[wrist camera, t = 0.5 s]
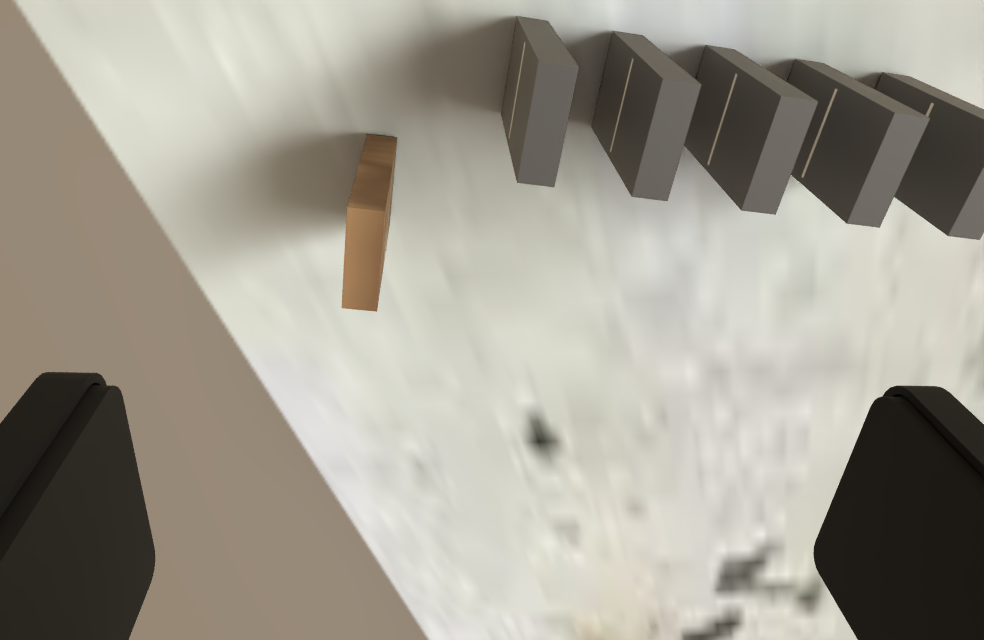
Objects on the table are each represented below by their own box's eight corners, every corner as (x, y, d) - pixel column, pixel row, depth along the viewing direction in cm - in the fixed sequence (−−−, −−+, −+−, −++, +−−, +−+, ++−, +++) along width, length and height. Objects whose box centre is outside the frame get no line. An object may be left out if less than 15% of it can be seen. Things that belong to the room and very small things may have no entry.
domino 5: (763, 150, 41) (846, 223, 33) (795, 58, 39) (894, 112, 30) (790, 153, 42) (880, 227, 33) (824, 63, 39) (930, 118, 31)
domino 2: (500, 114, 39) (516, 182, 31) (516, 16, 37) (538, 60, 28) (530, 118, 40) (554, 187, 31) (548, 21, 37) (579, 66, 29)
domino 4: (678, 138, 41) (740, 210, 32) (705, 45, 38) (780, 96, 30) (706, 142, 41) (775, 214, 32) (735, 49, 38) (818, 101, 30)
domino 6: (845, 161, 42) (947, 235, 34) (882, 72, 39) (1003, 128, 31) (871, 165, 42) (980, 239, 34) (910, 76, 40) (1037, 133, 31)
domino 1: (361, 219, 42) (341, 307, 34) (366, 133, 40) (346, 207, 31) (390, 222, 42) (377, 311, 34) (397, 137, 40) (385, 211, 31)
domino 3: (591, 126, 40) (631, 196, 32) (612, 30, 38) (662, 78, 29) (620, 130, 40) (667, 201, 32) (643, 35, 38) (702, 84, 29)
